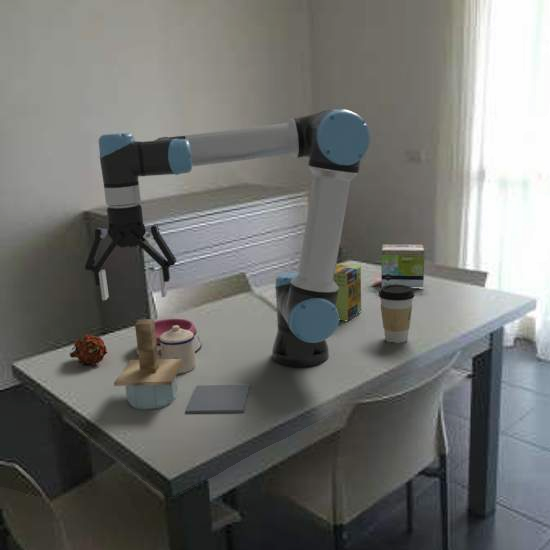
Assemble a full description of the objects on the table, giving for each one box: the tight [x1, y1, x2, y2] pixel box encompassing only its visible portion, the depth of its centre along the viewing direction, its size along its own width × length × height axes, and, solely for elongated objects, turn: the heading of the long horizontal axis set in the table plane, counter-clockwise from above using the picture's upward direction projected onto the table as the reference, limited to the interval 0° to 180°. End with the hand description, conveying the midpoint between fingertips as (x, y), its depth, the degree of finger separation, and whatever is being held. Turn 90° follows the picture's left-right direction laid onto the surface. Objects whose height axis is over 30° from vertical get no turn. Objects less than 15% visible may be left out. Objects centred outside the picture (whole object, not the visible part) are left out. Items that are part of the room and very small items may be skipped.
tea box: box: [380, 244, 425, 288], centre depth 225 cm, size 15×10×15 cm
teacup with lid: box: [157, 325, 197, 375], centre depth 161 cm, size 12×9×12 cm
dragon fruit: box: [69, 334, 108, 366], centre depth 169 cm, size 8×8×12 cm
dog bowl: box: [135, 318, 202, 359], centre depth 176 cm, size 18×19×7 cm
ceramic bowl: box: [124, 376, 178, 410], centre depth 145 cm, size 11×11×6 cm
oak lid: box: [113, 318, 183, 387], centre depth 143 cm, size 13×13×13 cm
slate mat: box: [185, 384, 251, 414], centre depth 144 cm, size 13×13×1 cm
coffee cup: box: [378, 285, 415, 344], centre depth 174 cm, size 10×10×15 cm
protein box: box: [334, 263, 362, 322], centre depth 198 cm, size 10×15×16 cm
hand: (135, 297), depth 142 cm, fingers open, 13 cm apart
